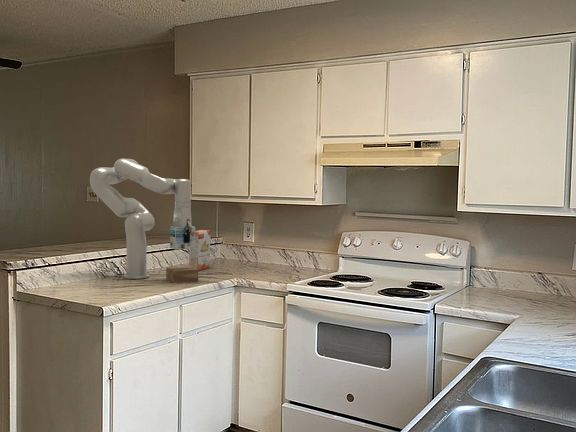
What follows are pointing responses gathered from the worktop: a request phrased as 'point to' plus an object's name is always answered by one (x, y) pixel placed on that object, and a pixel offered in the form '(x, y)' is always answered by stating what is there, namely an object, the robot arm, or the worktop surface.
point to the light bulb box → (181, 238)
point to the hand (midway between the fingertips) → (182, 241)
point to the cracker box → (200, 251)
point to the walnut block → (182, 274)
